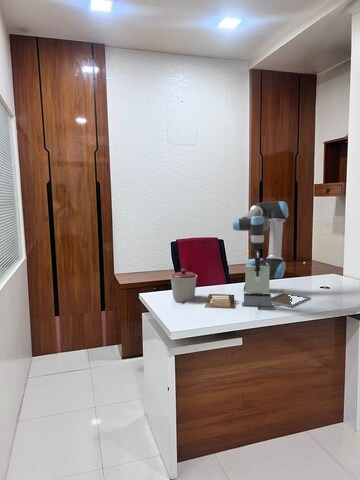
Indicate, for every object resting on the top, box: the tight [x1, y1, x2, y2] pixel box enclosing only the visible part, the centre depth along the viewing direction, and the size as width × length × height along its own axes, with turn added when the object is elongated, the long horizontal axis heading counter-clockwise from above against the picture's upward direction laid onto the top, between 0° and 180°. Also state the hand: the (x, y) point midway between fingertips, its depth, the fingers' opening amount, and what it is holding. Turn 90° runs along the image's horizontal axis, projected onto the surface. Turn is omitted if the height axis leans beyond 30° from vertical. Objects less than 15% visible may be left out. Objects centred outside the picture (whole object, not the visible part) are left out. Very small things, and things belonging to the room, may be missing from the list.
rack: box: [204, 293, 237, 310], centre depth 218 cm, size 20×18×6 cm
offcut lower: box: [210, 299, 231, 307], centre depth 214 cm, size 8×12×2 cm, turn 80°
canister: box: [169, 268, 198, 303], centre depth 231 cm, size 18×18×21 cm
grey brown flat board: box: [271, 292, 312, 308], centre depth 227 cm, size 19×2×30 cm
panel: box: [244, 265, 270, 294], centre depth 212 cm, size 2×14×16 cm, turn 80°
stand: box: [241, 292, 274, 311], centre depth 214 cm, size 10×18×8 cm, turn 80°
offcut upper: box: [212, 296, 229, 303], centre depth 214 cm, size 7×10×2 cm
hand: (257, 281), depth 213 cm, fingers closed on panel, 2 cm apart
